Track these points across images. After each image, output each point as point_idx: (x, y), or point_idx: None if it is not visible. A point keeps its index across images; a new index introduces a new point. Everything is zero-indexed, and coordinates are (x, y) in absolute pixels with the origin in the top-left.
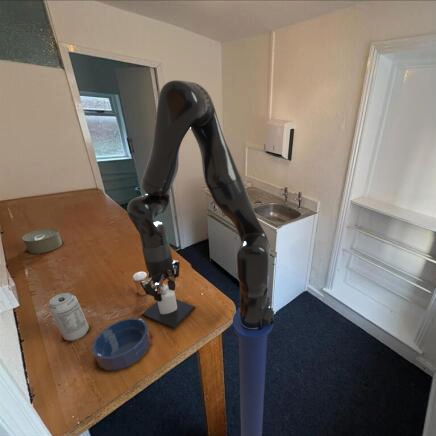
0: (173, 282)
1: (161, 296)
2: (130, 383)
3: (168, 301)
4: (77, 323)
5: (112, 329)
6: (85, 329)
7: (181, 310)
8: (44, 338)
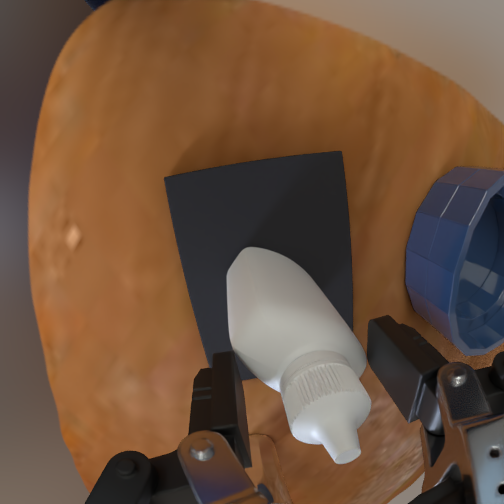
0: (217, 424)
1: (395, 342)
2: (501, 127)
3: (310, 293)
4: None
5: (474, 339)
6: None
7: (234, 217)
8: None
